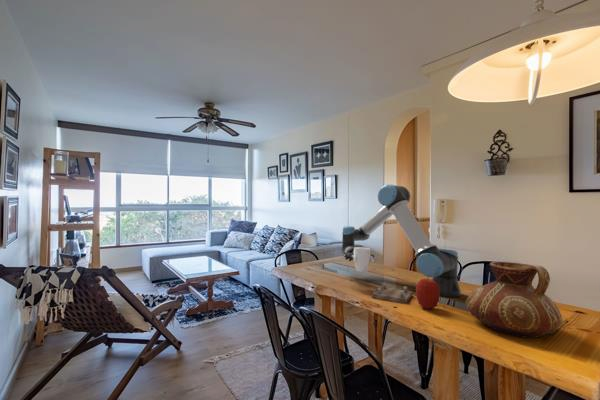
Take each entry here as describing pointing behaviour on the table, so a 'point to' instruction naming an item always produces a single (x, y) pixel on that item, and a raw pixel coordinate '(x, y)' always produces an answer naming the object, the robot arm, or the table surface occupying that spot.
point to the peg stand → (392, 294)
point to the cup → (362, 258)
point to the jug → (516, 301)
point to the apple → (427, 293)
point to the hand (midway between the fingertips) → (364, 259)
